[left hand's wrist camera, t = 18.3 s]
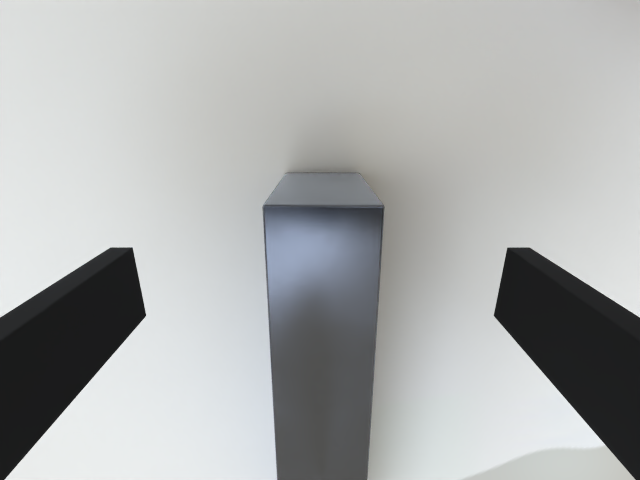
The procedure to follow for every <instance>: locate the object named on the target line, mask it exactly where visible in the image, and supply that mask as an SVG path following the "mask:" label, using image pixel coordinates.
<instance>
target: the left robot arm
mask: <svg viewBox="0 0 640 480" xmlns="http://www.w3.org/2000/svg"><path fill="white" fill-rule="evenodd" d="M145 316H146V313H145V308H144V303H143V298H142V293H141V288H140V283H139V278H138V273H137V268H136V263H135V258H134V253H133V248H109V249H108V250H106V251H105V252H103V253H101V254H100V255H98V256H97V257H95V258H94V259H92V260H90V261H89V262H87V263H86V264H84V265H82V266H81V267H79V268H78V269H76V270H75V271H73V272H71V273H70V274H68V275H67V276H65V277H64V278H62V279H60V280H59V281H57V282H56V283H54V284H53V285H51V286H49V287H48V288H46V289H45V290H43V291H42V292H40V293H38V294H37V295H35V296H34V297H32V298H30V299H29V300H27V301H26V302H24V303H23V304H21V305H19V306H18V307H16V308H15V309H13V310H12V311H10V312H8V313H7V314H5V315H4V316H2V317H1V318H0V480H4V479H5V478H6V477H7V476H8V475H9V474H10V473H11V471H12V470H13V469H14V468H15V467H16V466H17V464H18V463H19V462H20V461H21V460H22V459H23V457H24V456H25V455H26V454H27V453H28V452H29V451H30V449H31V448H32V447H33V446H34V445H35V444H36V442H37V441H38V440H39V439H40V438H41V437H42V436H43V434H44V433H45V432H46V431H47V430H48V429H49V427H50V426H51V425H52V424H53V423H54V422H55V420H56V419H57V418H58V417H59V416H60V415H61V414H62V412H63V411H64V410H65V409H66V408H67V407H68V405H69V404H70V403H71V402H72V401H73V400H74V399H75V397H76V396H77V395H78V394H79V393H80V392H81V390H82V389H83V388H84V387H85V386H86V385H87V384H88V382H89V381H90V380H91V379H92V378H93V377H94V375H95V374H96V373H97V372H98V371H99V370H100V368H101V367H102V366H103V365H104V364H105V363H106V362H107V360H108V359H109V358H110V357H111V356H112V355H113V353H114V352H115V351H116V350H117V349H118V348H119V347H120V345H121V344H122V343H123V342H124V341H125V340H126V338H127V337H128V336H129V335H130V334H131V333H132V331H133V330H134V329H135V328H136V327H137V326H138V325H139V323H140V322H141V321H142V320H143V319H144V318H145ZM494 316H495V318H496V319H497V320H498V321H499V322H500V323H501V325H502V326H503V327H504V328H505V329H506V330H507V331H508V333H509V334H510V335H511V336H512V337H513V338H514V340H515V341H516V342H517V343H518V344H519V345H520V347H521V348H522V349H523V350H524V351H525V352H526V353H527V355H528V356H529V357H530V358H531V359H532V360H533V362H534V363H535V364H536V365H537V366H538V367H539V368H540V370H541V371H542V372H543V373H544V374H545V375H546V377H547V378H548V379H549V380H550V381H551V382H552V384H553V385H554V386H555V387H556V388H557V389H558V390H559V392H560V393H561V394H562V395H563V396H564V397H565V399H566V400H567V401H568V402H569V403H570V404H571V405H572V407H573V408H574V409H575V410H576V411H577V412H578V414H579V415H580V416H581V417H582V418H583V419H584V420H585V422H586V423H587V424H588V425H589V426H590V427H591V429H592V430H593V431H594V432H595V433H596V434H597V436H598V437H599V438H600V439H601V440H602V441H603V442H604V444H605V445H606V446H607V447H608V448H609V449H610V451H611V452H612V453H613V454H614V455H615V456H616V457H617V459H618V460H619V461H620V462H621V463H622V464H623V466H624V467H625V468H626V469H627V470H628V471H629V473H630V474H631V475H632V476H633V477H634V478H635V479H636V480H640V318H639V317H638V316H636V315H635V314H633V313H632V312H630V311H628V310H627V309H625V308H624V307H622V306H621V305H619V304H617V303H616V302H614V301H613V300H611V299H609V298H608V297H606V296H605V295H603V294H602V293H600V292H598V291H597V290H595V289H594V288H592V287H591V286H589V285H587V284H586V283H584V282H583V281H581V280H580V279H578V278H576V277H575V276H573V275H572V274H570V273H569V272H567V271H565V270H564V269H562V268H561V267H559V266H558V265H556V264H554V263H553V262H551V261H550V260H548V259H546V258H545V257H543V256H542V255H540V254H539V253H537V252H535V251H534V250H532V249H531V248H507V253H506V258H505V263H504V268H503V273H502V278H501V283H500V288H499V293H498V298H497V303H496V308H495V313H494Z"/></svg>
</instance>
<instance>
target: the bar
mask: <svg viewBox="0 0 640 480" xmlns="http://www.w3.org/2000/svg"><path fill="white" fill-rule="evenodd" d="M383 221H384V205H383V204H382V202H381V201H380V200H379V198H378V197H377V196H376V194H375V193H374V192H373V190H372V189H371V188H370V186H369V185H368V184H367V182H366V181H365V180H364V178H363V177H362V176H361V174H360V173H286V174H285V175H284V177H283V178H282V180H281V181H280V182H279V184H278V185H277V187H276V188H275V189H274V191H273V192H272V194H271V195H270V196H269V198H268V199H267V201H266V202H265V203H264V205H263V222H264V241H265V260H266V278H267V297H268V316H269V335H270V353H271V372H272V391H273V409H274V428H275V447H276V465H277V480H367V475H368V459H369V443H370V427H371V411H372V396H373V380H374V364H375V348H376V332H377V316H378V300H379V285H380V269H381V253H382V237H383Z"/></svg>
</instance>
